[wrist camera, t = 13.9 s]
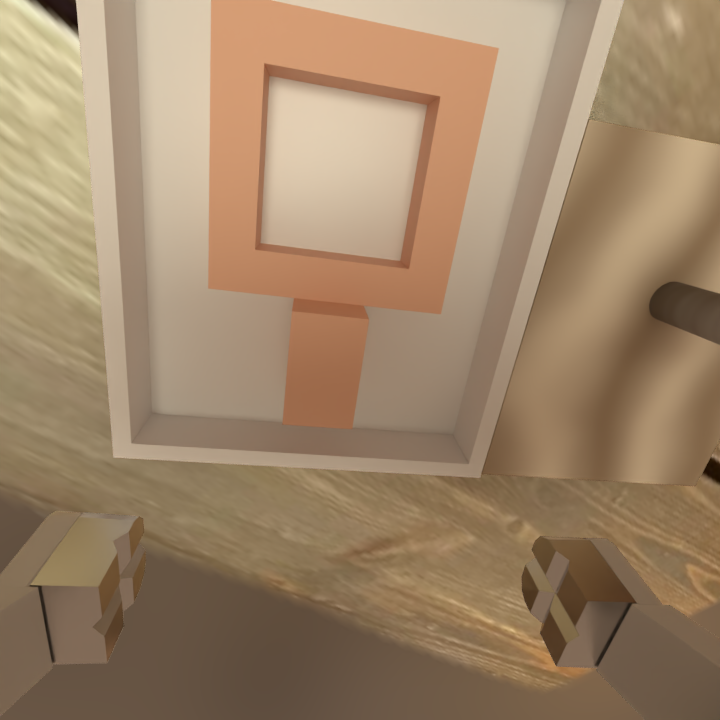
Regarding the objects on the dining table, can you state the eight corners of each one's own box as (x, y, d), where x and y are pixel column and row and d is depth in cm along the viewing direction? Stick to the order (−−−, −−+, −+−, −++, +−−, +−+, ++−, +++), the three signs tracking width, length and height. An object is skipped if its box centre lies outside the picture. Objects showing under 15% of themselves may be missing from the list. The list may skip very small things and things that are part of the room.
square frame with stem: (479, 62, 17) (523, 30, 14) (410, 393, 23) (429, 434, 19) (222, 9, 16) (195, -42, 12) (216, 377, 21) (196, 418, 18)
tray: (581, -16, 17) (641, -60, 14) (458, 440, 25) (480, 477, 22) (113, -131, 15) (58, -216, 12) (141, 418, 23) (113, 457, 20)
